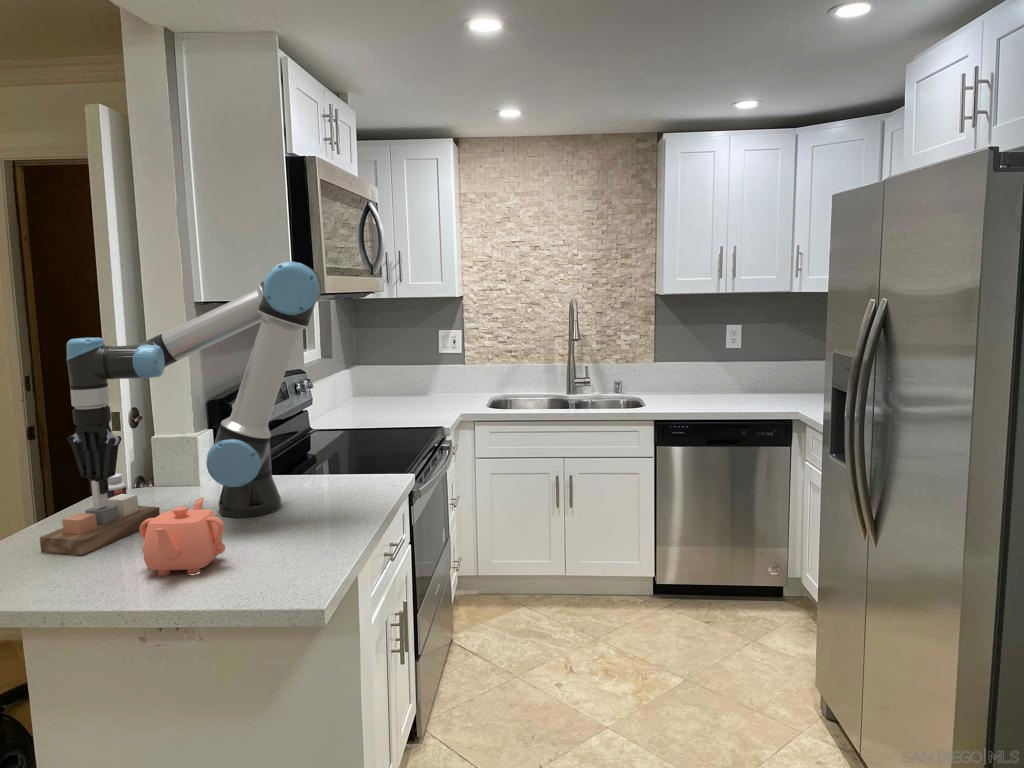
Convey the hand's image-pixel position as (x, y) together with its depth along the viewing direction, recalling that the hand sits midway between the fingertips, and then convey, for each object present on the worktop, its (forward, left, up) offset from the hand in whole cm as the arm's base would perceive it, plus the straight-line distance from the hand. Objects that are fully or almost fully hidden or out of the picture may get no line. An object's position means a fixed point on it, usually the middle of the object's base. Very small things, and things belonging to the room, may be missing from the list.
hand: (101, 506), depth 174 cm
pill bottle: (+11, -16, -7) cm, 21 cm away
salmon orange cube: (0, +6, -5) cm, 8 cm away
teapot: (-32, +13, -7) cm, 35 cm away
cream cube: (0, -7, -5) cm, 8 cm away
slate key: (0, 0, -5) cm, 5 cm away
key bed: (0, 0, -7) cm, 7 cm away
